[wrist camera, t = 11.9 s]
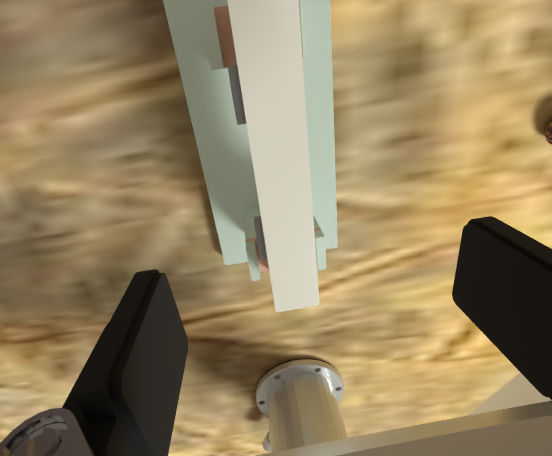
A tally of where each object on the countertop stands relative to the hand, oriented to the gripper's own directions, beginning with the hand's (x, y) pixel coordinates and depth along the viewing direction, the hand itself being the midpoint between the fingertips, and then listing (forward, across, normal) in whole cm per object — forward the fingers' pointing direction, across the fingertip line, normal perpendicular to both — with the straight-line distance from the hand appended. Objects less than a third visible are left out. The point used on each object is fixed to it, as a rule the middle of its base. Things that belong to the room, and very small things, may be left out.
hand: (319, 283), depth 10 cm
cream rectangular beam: (+13, 0, -1) cm, 13 cm away
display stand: (+21, 0, -1) cm, 21 cm away
